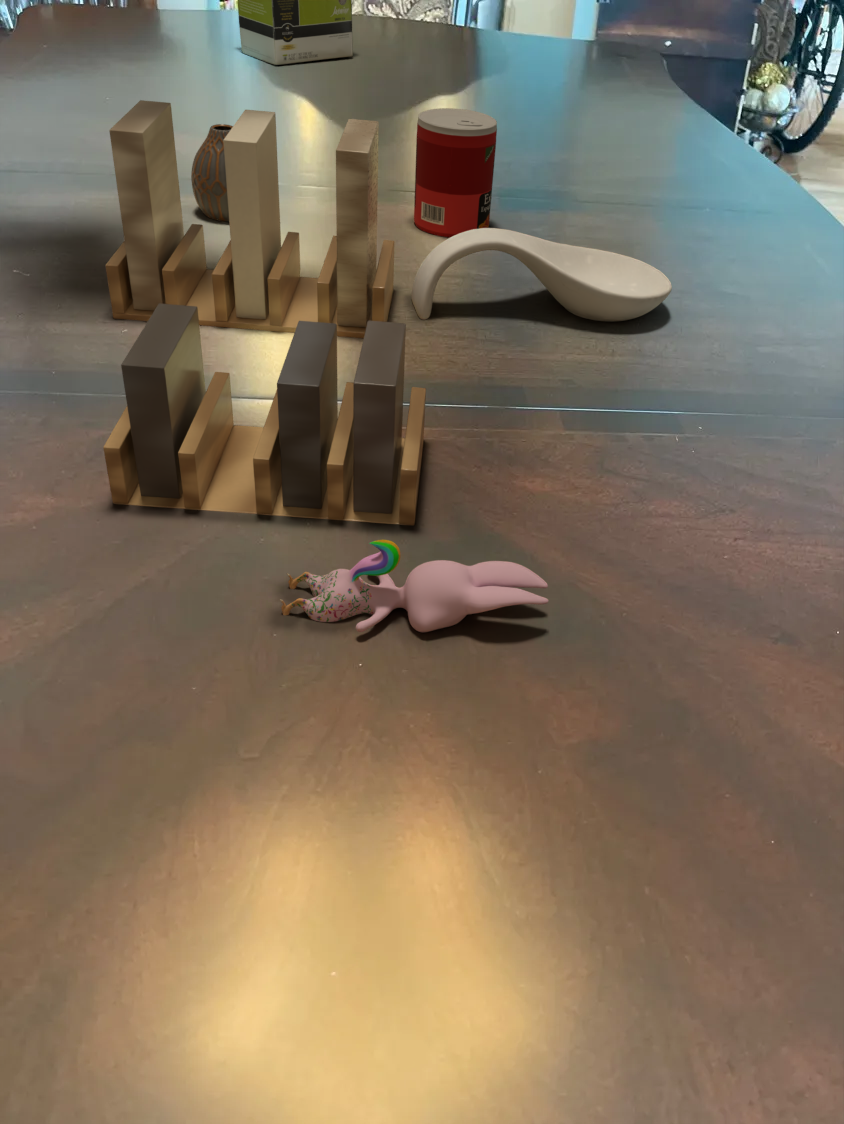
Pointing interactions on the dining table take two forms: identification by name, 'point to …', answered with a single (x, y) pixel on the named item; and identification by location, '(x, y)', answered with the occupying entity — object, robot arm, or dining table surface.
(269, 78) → the dining table surface
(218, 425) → the brown wooden book rack
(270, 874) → the dining table surface
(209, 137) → the vase
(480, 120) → the canned food
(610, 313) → the spoon rest
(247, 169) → the white book
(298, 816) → the dining table surface
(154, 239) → the wooden slotted rack
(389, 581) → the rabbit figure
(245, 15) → the tea box
